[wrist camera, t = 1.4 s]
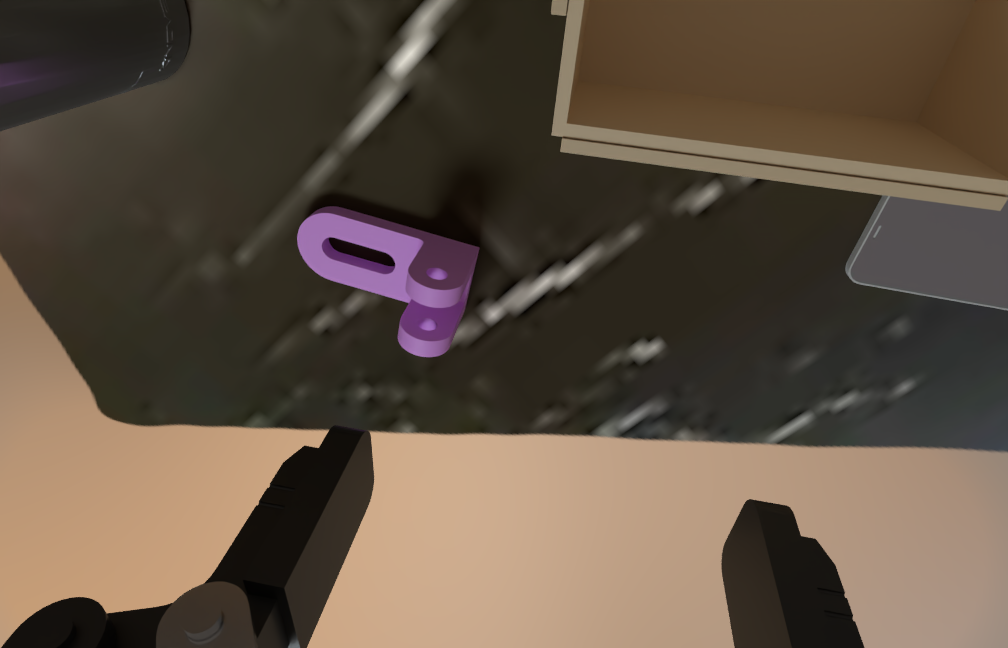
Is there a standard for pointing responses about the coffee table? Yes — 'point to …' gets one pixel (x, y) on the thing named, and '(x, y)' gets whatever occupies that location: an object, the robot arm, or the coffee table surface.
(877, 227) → the smartphone
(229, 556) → the robot arm
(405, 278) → the bracket
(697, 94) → the carton
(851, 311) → the coffee table surface
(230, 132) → the coffee table surface
